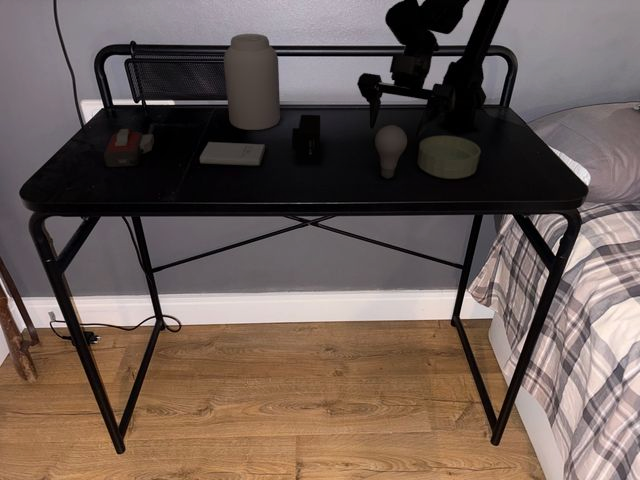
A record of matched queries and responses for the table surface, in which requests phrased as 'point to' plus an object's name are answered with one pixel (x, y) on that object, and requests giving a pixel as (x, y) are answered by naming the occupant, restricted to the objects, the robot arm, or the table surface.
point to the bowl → (448, 156)
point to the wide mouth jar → (252, 82)
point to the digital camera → (307, 139)
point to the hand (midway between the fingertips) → (393, 131)
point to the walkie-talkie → (128, 147)
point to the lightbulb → (390, 148)
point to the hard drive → (232, 154)
